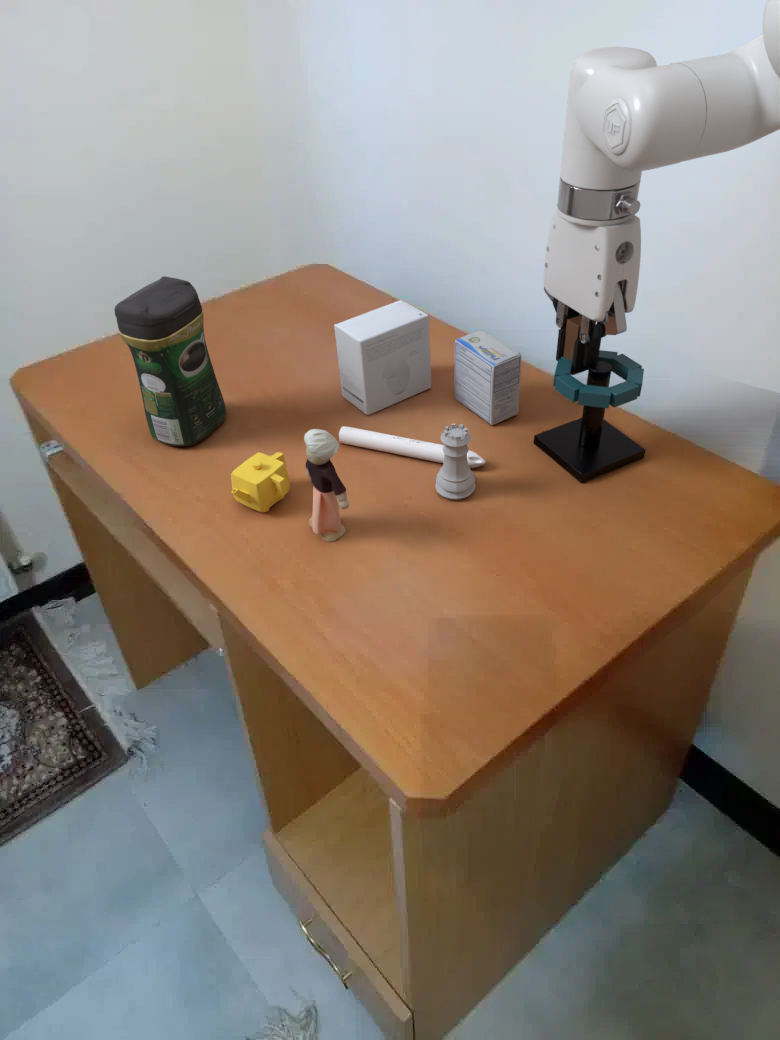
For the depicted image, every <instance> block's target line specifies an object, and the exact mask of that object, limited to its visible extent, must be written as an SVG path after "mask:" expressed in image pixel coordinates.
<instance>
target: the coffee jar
mask: <svg viewBox="0 0 780 1040" xmlns="http://www.w3.org/2000/svg"><path fill="white" fill-rule="evenodd" d="M113 310H114V316H115V318H116V323H117V330H118V333H119V335H120V337H121V340H122V341H123V342H124V343H125V344H126V346H127V347H128V348H129V351H130V353H131V354H130V355H131V356H132V359H133V363H134V367H135V371H136V375H137V380H138V384H139V388H140V393H141V399H142V403H143V408H144V409H143V410H144V414H145V419H146V423H147V426H148V430H149V433H150V435H151V437H152V438H153V439H155V440H156V441H158V442H159V443H162V444H164V445H167V446H170V447H188V446H189V447H191V446H193V445H196V444H197V443H200V442H201V441H202V440H203V439H205V438H206V437H207V436H209V435H211V433H212V432H214V431H215V430H216V429H217V428H218V427H219V426H220V425H222V423H223V422H224V420H225V419H226V416H227V407H226V404H225V400H224V397H223V393H222V391H221V387H220V384H219V383H218V379H217V376H216V374H215V373H216V372H215V369H214V366H213V363H212V360H211V356H210V353H209V350H208V346H207V341H206V337H205V336H206V335H205V330H204V309H203V306H202V303H201V301H200V298H199V294H198V292H197V290H196V289H195V286H193V284H192V283H191V282H189V281H188V280H185V279H181V278H176V277H171V276H165V275H163V276H161V277H160V278H159V279H157V280H155V281H153V282H151V283H149V284H147V285H145V286H144V287H142V288H140V289H139V290H137V291H135V292H134V293H132V294H130V295H129V296H127V297H125V298H124V299H123V300H121V301H119V302H118V303H117V304H116V305H115V306H114V309H113Z"/></svg>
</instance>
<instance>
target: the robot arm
mask: <svg viewBox="0 0 780 1040" xmlns="http://www.w3.org/2000/svg"><path fill="white" fill-rule="evenodd" d="M762 12H763V13H762V34H760V35H758V36H757V37H755V38H753V39H752V40H750V41H748V42H746V43H745V44H744V45H742V46H739V47H737V48H736V49H733V50H731V51H729V52H726V53H723V54H719V55H718V54H717V55H711V56H705V57H700V58H694V59H689V60H684V61H679V62H673V63H670V64H665V65H658V64H657V61H656V59H655V57H654V56H653V55H652V54H651V53H650V52H648V51H646V50H643V49H640V48H634V47H627V46H607V47H599V48H594V49H593V48H592V49H590V50H587V51H584V52H582V53H581V54H580V55H578V56H577V57H576V59H574V61H573V63H572V65H571V69H570V71H569V80H568V90H567V99H566V110H565V120H564V121H565V122H564V130H563V143H562V153H561V163H560V172H559V184H558V193H557V194H558V195H557V202H556V204H555V208H554V211H553V213H552V217H551V222H550V227H549V233H548V237H547V243H546V248H545V249H546V250H545V256H544V265H543V266H544V267H543V285H544V286H543V291H544V293H545V294H546V296H547V297H548V298H549V300H550V301H551V302H552V306H553V308H554V311H555V325H556V327H557V328H559V329H558V333H557V345H556V353H555V361H556V362H558V360H561V357H563V351H564V343H565V334H566V325H567V319H570V318H573V317H576V316H580V315H582V320H581V328H580V339H578V340H575V344H574V352H573V360H572V372H574V373H575V375H578V374H580V373H584V372H586V371H588V370H589V365H590V364H591V363H592V362H595V361H598V358H599V351H600V350H601V344H602V339H603V338H605V337H607V336H617V335H620V334H623V333H625V332H627V329H628V327H627V326H628V325H627V318H626V314H629V313H632V312H633V311H634V308H635V305H636V300H637V294H638V288H639V279H640V269H641V257H642V253H641V252H642V230H641V229H642V227H641V218H640V217H639V216H637V215H636V214H637V213H638V212H639V211H640V209H641V202H640V201H639V200H638V198H639V192H640V187H641V186H640V185H641V180H642V175H643V174H642V173H643V172H647V171H650V170H656V169H659V168H663V167H668V166H673V165H676V164H679V163H682V162H686V161H691V160H695V159H700V158H704V157H708V156H714V155H718V154H722V153H727V152H730V151H733V150H736V149H738V148H739V149H740V148H741V147H744V146H746V145H749V144H751V143H753V142H755V141H758V140H760V139H762V138H764V137H767V136H768V135H771V134H773V133H775V132H777V131H779V130H780V0H765V4H764V8H763V11H762ZM593 321H596V325H594V326H593V327H592V324H593Z"/></svg>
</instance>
